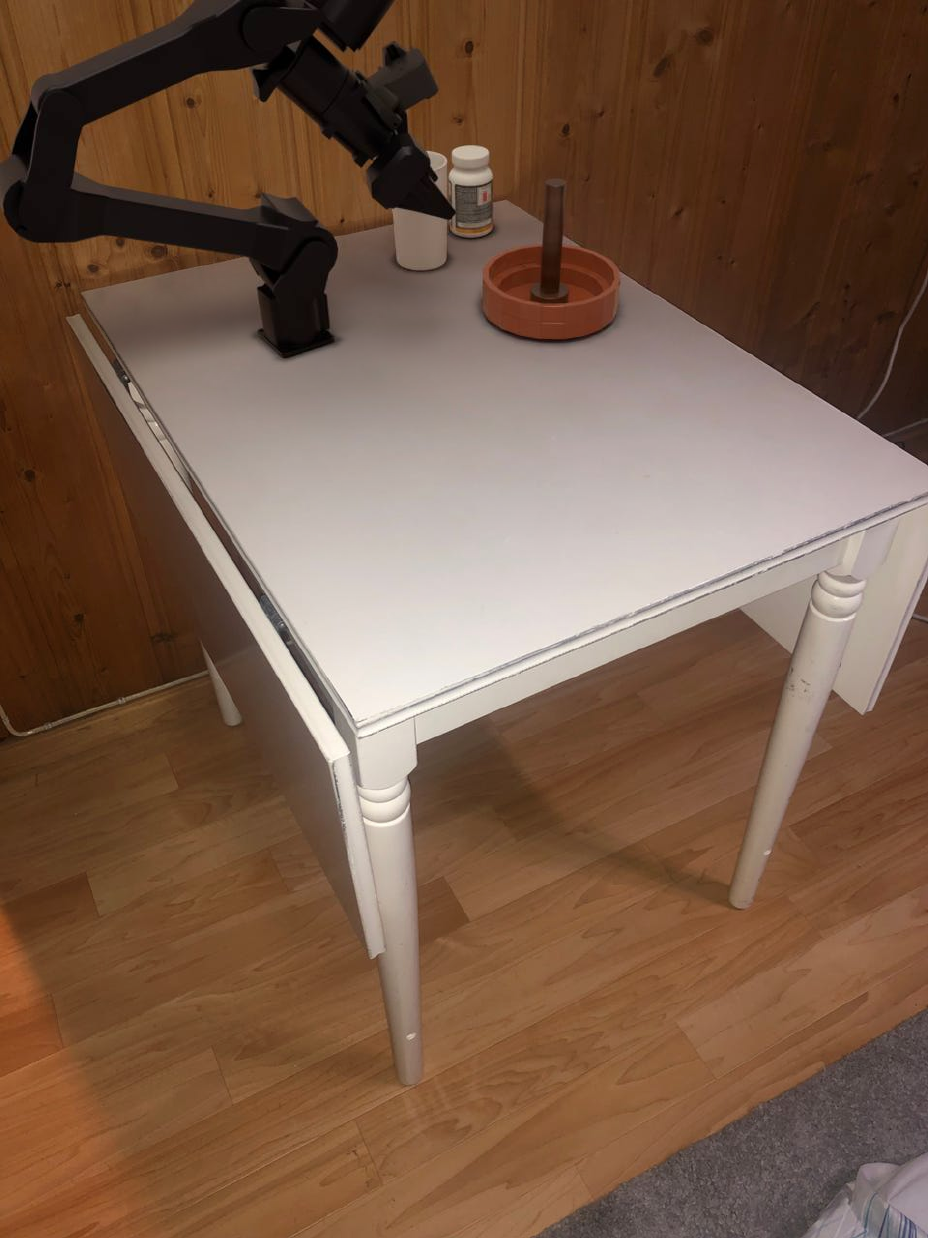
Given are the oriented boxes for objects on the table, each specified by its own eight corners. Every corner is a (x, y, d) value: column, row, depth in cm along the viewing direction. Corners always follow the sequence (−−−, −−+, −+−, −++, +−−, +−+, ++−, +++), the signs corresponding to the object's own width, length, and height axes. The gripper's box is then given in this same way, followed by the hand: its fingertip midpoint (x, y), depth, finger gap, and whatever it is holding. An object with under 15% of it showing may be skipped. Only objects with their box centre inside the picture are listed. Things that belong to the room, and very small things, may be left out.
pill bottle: (501, 229, 133) (503, 150, 126) (472, 243, 130) (472, 163, 123) (469, 217, 136) (469, 139, 129) (440, 230, 133) (438, 152, 126)
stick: (567, 315, 115) (576, 191, 105) (528, 313, 115) (533, 189, 106) (568, 297, 118) (577, 174, 108) (530, 295, 119) (536, 173, 109)
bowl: (536, 358, 110) (538, 320, 106) (456, 302, 119) (456, 265, 116) (643, 318, 116) (648, 281, 113) (559, 268, 125) (562, 232, 122)
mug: (459, 262, 126) (458, 163, 118) (413, 277, 123) (409, 176, 115) (415, 234, 132) (412, 137, 124) (371, 247, 129) (364, 149, 121)
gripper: (401, 51, 88) (520, 171, 97) (369, -4, 101) (477, 106, 110) (319, 153, 92) (441, 258, 101) (299, 88, 105) (408, 186, 114)
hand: (443, 198), depth 107 cm, fingers open, 9 cm apart
